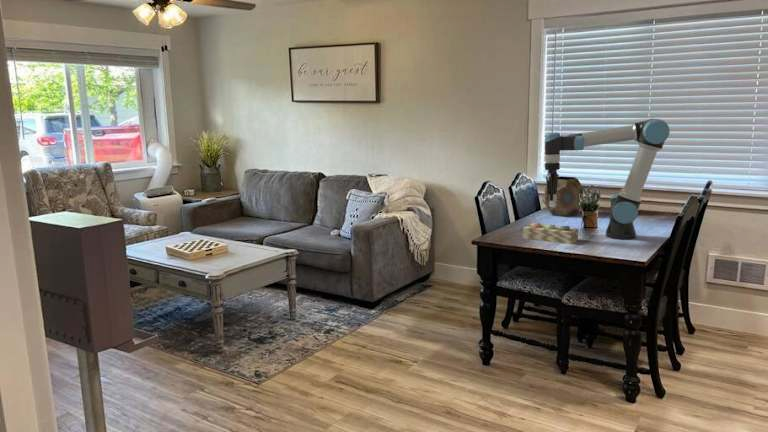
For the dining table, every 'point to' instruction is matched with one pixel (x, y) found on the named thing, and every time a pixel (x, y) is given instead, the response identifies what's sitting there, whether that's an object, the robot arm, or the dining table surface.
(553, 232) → the beige woven box
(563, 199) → the brown dodecahedron
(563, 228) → the button charcoal
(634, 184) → the robot arm
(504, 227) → the dining table surface
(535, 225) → the button terracotta
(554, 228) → the button sage
